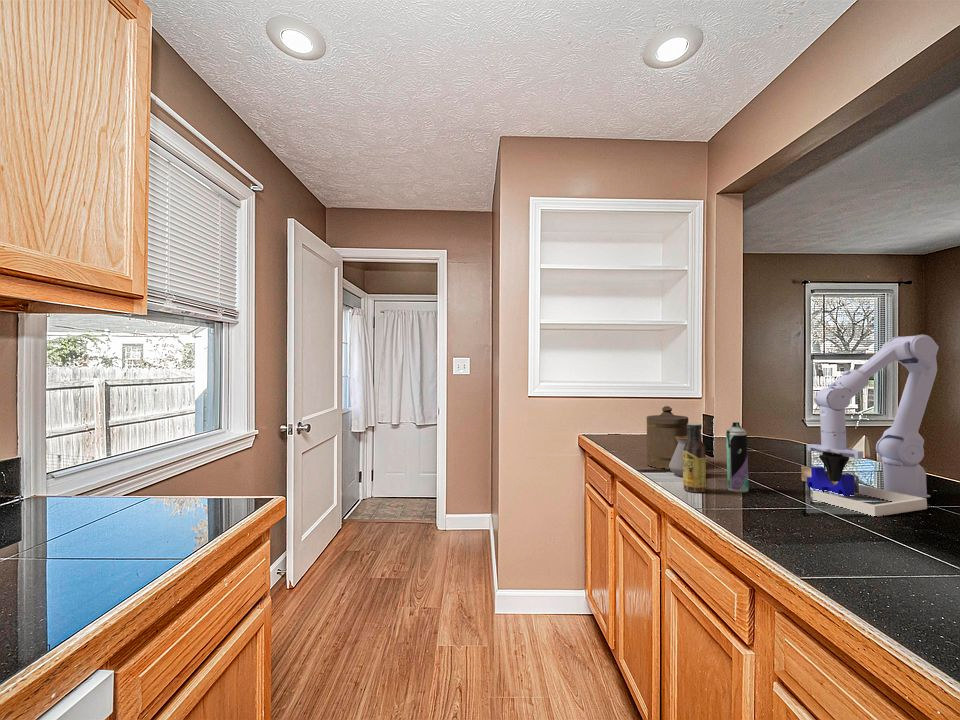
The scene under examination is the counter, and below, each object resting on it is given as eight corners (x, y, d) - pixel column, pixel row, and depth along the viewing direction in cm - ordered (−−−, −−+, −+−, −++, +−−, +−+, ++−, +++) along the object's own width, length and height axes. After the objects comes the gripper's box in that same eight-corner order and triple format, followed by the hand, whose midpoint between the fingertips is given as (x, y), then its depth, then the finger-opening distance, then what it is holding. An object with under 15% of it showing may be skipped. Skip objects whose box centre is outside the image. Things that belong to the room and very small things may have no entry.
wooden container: (690, 463, 191) (688, 404, 191) (689, 471, 177) (687, 408, 177) (649, 461, 197) (647, 404, 197) (645, 468, 183) (643, 407, 183)
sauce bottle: (679, 488, 152) (677, 422, 153) (699, 487, 153) (697, 422, 153) (690, 494, 146) (688, 425, 146) (711, 493, 146) (708, 424, 147)
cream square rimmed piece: (856, 492, 143) (855, 475, 143) (927, 508, 126) (926, 489, 126) (807, 499, 137) (807, 481, 138) (875, 516, 121) (874, 496, 121)
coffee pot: (666, 471, 177) (665, 428, 178) (701, 471, 175) (700, 428, 175) (677, 485, 156) (675, 437, 157) (717, 486, 154) (715, 437, 154)
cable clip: (807, 487, 151) (806, 467, 151) (821, 486, 151) (820, 466, 152) (839, 497, 139) (838, 475, 139) (854, 496, 140) (853, 474, 140)
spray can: (740, 493, 145) (738, 423, 146) (723, 489, 150) (721, 422, 151) (752, 490, 148) (750, 422, 148) (735, 486, 153) (733, 420, 153)
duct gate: (855, 492, 143) (855, 476, 143) (853, 492, 143) (852, 476, 143) (804, 480, 158) (803, 466, 158) (801, 480, 158) (801, 466, 158)
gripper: (798, 429, 145) (800, 477, 145) (848, 435, 132) (850, 488, 131) (816, 428, 147) (818, 474, 147) (868, 434, 134) (870, 485, 133)
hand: (835, 481), depth 139 cm, fingers closed
